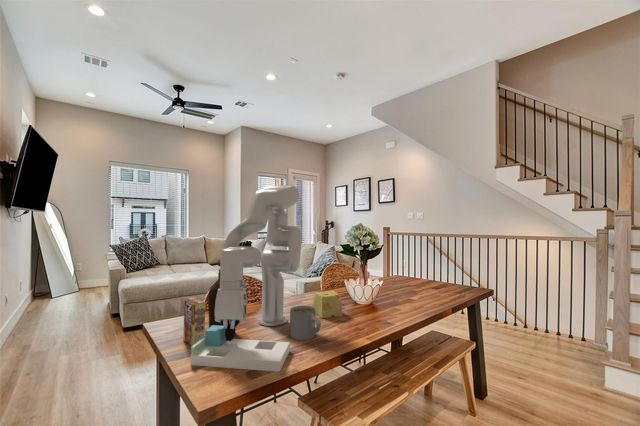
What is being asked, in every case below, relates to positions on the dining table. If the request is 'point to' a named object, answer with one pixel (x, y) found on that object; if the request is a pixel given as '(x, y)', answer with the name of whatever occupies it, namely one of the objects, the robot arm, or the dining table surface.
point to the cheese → (327, 304)
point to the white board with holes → (241, 354)
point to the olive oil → (213, 302)
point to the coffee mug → (303, 322)
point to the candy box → (194, 320)
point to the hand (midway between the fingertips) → (230, 339)
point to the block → (215, 336)
